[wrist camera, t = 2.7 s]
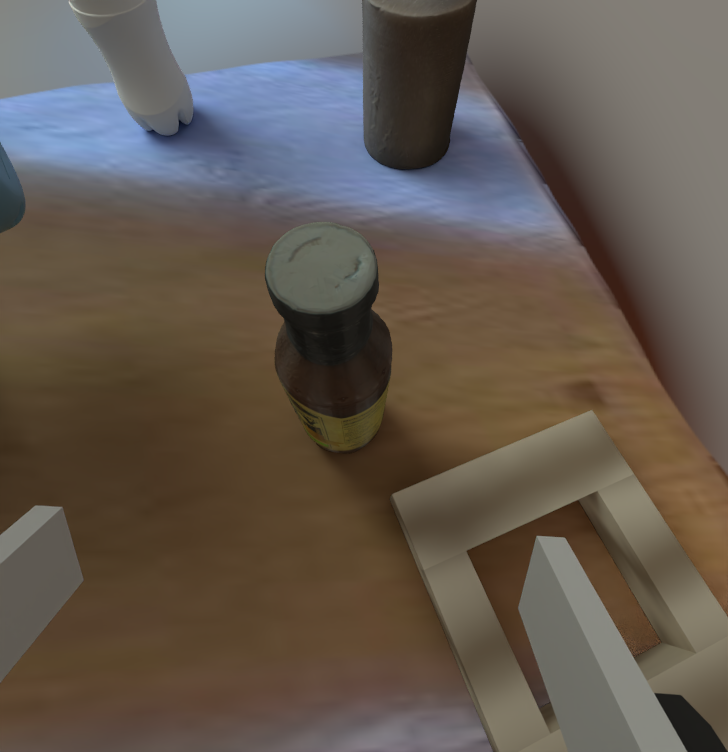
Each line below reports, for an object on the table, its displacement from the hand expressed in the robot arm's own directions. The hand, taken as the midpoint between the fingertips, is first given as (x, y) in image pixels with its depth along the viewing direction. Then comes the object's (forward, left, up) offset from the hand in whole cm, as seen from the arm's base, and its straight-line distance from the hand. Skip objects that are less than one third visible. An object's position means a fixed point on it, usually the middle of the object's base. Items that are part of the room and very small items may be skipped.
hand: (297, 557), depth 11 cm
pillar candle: (-37, +22, -19) cm, 47 cm away
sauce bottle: (-9, +4, -19) cm, 21 cm away
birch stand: (+8, +13, -19) cm, 24 cm away
